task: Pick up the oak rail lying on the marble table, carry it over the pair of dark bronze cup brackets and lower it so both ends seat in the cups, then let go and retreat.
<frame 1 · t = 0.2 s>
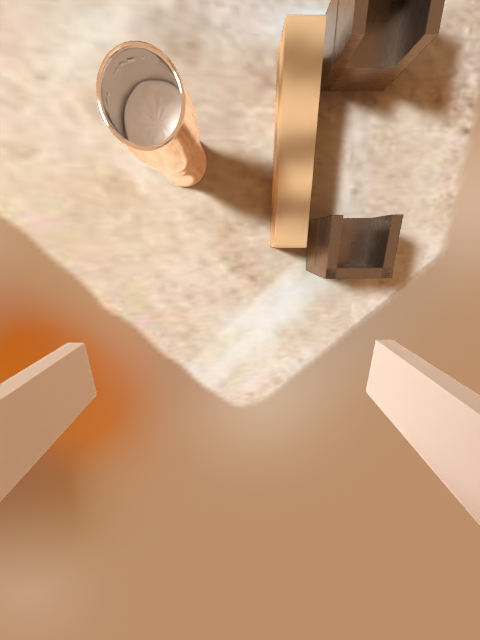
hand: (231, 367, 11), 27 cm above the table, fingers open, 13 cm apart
shiny metal tumbler: (184, 162, 32), on the table
rail: (287, 161, 32), on the table
brackets: (343, 160, 32), on the table
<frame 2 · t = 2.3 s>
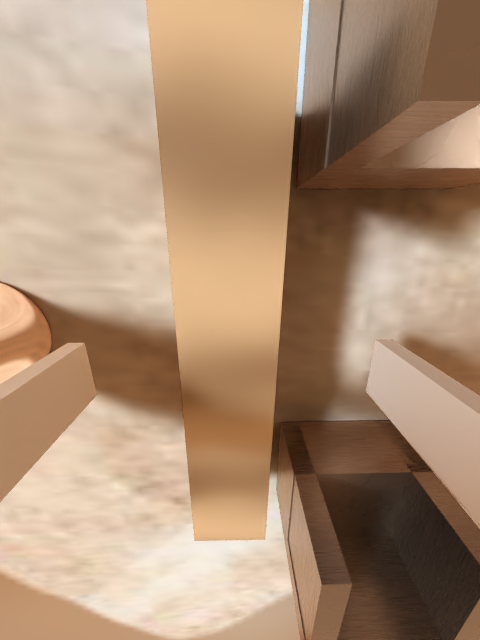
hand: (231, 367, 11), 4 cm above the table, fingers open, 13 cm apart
shiny metal tumbler: (3, 327, 15), on the table
rail: (230, 324, 15), on the table
brackets: (351, 325, 15), on the table
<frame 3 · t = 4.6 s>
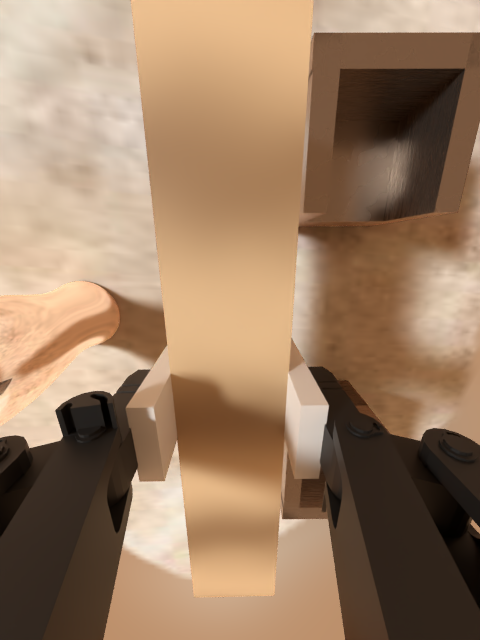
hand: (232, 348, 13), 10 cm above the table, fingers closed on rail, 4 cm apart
shiny metal tumbler: (89, 312, 23), on the table
rail: (232, 348, 14), point 9 cm above the table, touching gripper
brackets: (315, 311, 22), on the table
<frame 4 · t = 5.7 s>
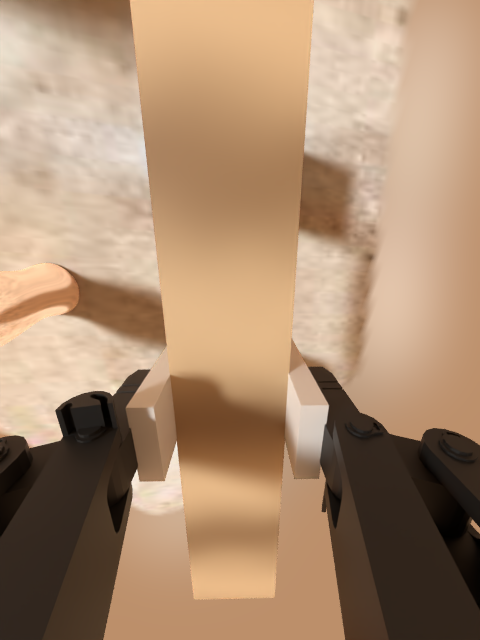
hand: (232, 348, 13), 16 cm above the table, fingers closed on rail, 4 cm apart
shiny metal tumbler: (54, 288, 28), on the table
rail: (232, 349, 14), point 16 cm above the table, touching gripper
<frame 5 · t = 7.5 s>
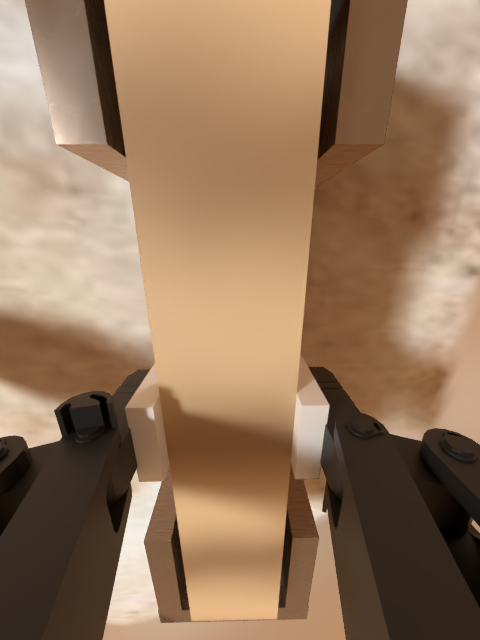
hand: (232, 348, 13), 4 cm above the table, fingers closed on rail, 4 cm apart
rail: (232, 354, 13), point 4 cm above the table, touching brackets, gripper
brackets: (232, 320, 16), on the table
when the fingers open (4 cm above the table, at t = 7.7 s): rail stays where it is, resting on brackets.
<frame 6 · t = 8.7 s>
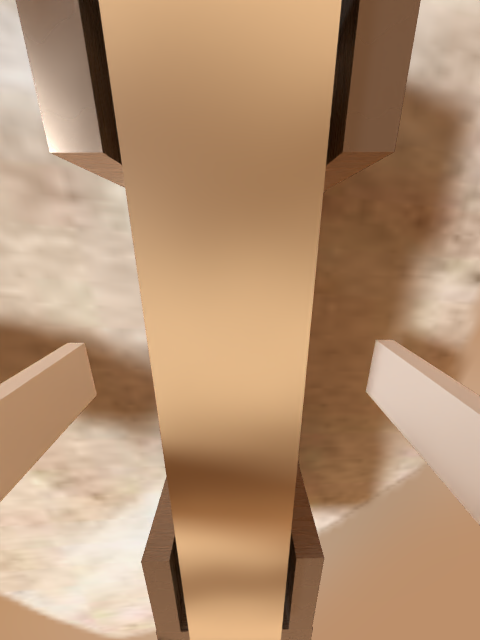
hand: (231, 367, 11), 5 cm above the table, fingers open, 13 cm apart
rail: (233, 364, 12), point 4 cm above the table, touching brackets
brackets: (233, 327, 16), on the table
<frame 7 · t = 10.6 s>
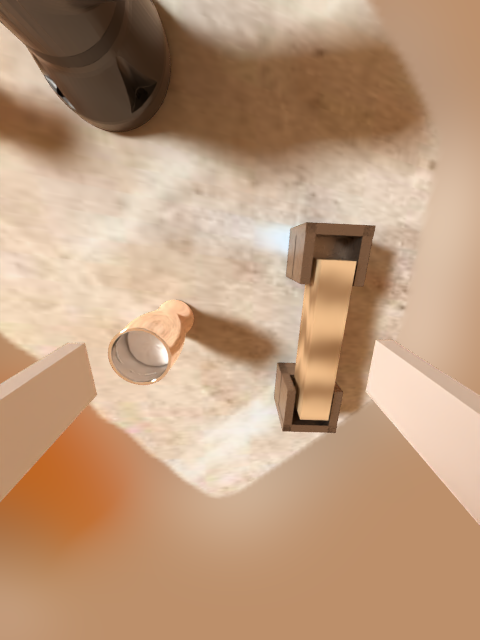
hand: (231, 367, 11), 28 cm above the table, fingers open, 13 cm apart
shiny metal tumbler: (175, 317, 39), on the table
rail: (312, 333, 36), point 4 cm above the table, touching brackets
brackets: (305, 322, 40), on the table
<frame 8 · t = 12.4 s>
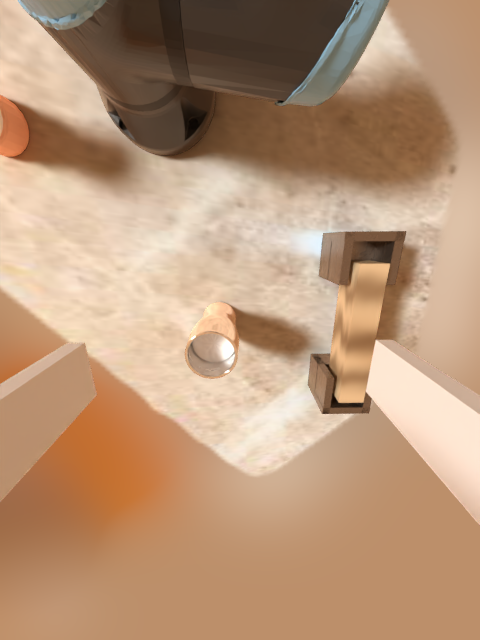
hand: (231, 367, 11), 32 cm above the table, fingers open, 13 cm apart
pepper shaker: (4, 127, 34), on the table
shiny metal tumbler: (219, 317, 44), on the table
rail: (345, 327, 40), point 4 cm above the table, touching brackets
brackets: (336, 316, 44), on the table
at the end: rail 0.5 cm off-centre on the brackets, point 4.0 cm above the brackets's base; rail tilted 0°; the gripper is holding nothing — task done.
